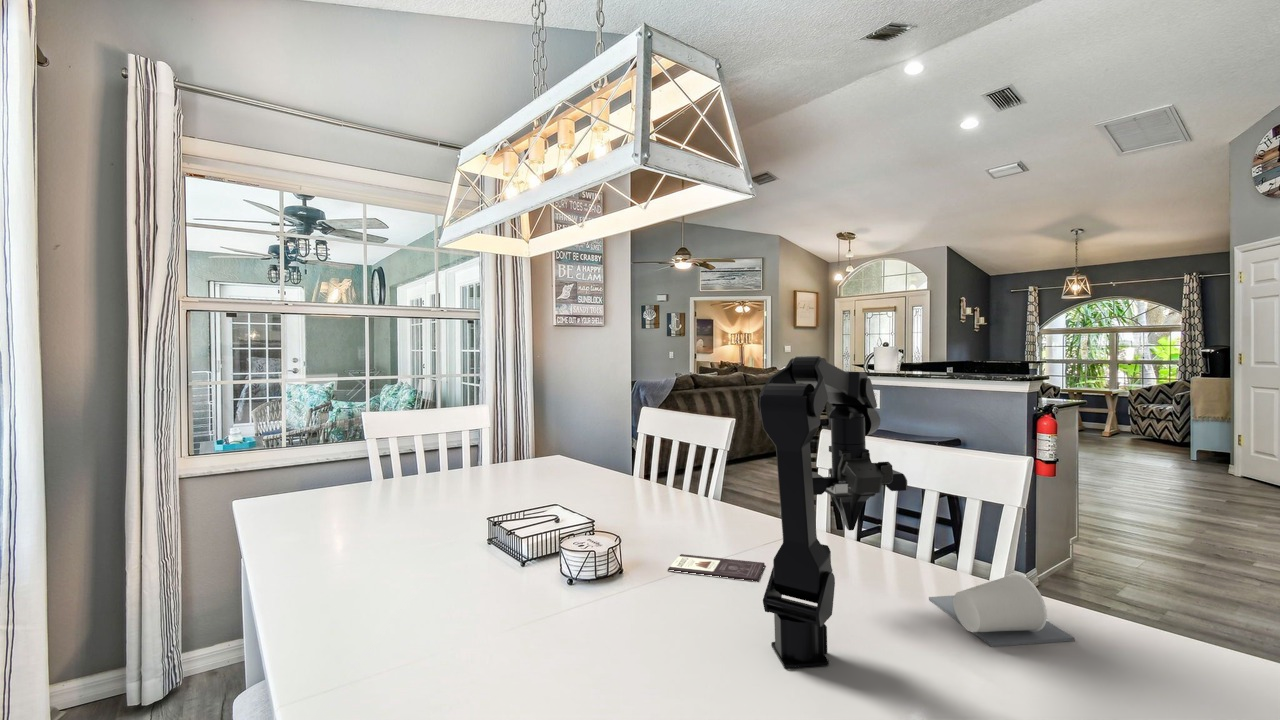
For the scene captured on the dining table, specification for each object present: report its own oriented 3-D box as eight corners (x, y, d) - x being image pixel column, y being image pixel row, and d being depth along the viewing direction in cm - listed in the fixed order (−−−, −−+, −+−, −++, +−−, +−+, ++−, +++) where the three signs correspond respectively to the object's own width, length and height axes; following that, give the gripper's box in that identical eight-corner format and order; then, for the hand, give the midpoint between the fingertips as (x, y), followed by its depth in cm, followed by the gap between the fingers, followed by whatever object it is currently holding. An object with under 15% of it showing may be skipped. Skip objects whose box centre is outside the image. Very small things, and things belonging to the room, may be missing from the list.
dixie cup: (955, 635, 90) (1012, 625, 92) (993, 647, 82) (1054, 636, 83) (942, 579, 92) (997, 570, 94) (977, 585, 84) (1038, 575, 85)
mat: (991, 646, 85) (991, 643, 85) (928, 599, 100) (928, 597, 100) (1074, 640, 85) (1074, 637, 85) (999, 595, 101) (999, 592, 101)
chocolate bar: (757, 579, 110) (667, 569, 117) (757, 584, 110) (667, 573, 117) (764, 562, 119) (680, 554, 125) (764, 567, 119) (680, 558, 125)
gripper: (813, 452, 93) (816, 547, 94) (924, 447, 95) (926, 541, 95) (790, 441, 105) (793, 527, 105) (890, 437, 106) (892, 522, 106)
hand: (850, 529), depth 102 cm, fingers closed
